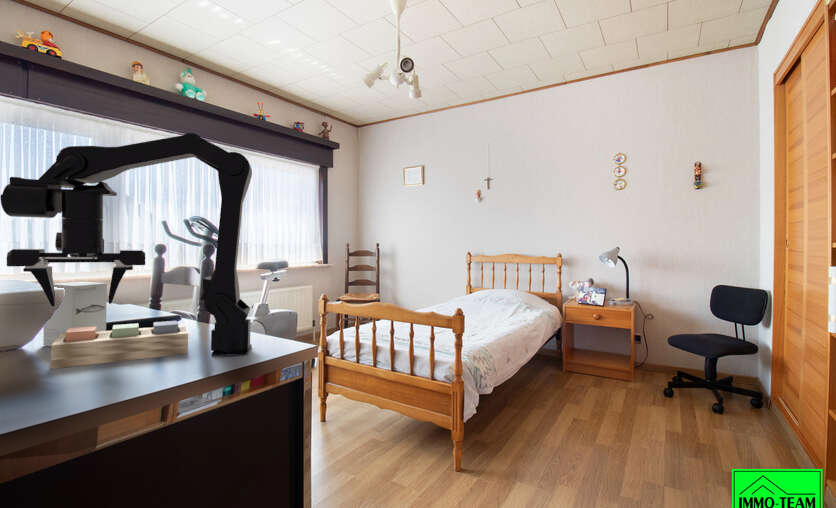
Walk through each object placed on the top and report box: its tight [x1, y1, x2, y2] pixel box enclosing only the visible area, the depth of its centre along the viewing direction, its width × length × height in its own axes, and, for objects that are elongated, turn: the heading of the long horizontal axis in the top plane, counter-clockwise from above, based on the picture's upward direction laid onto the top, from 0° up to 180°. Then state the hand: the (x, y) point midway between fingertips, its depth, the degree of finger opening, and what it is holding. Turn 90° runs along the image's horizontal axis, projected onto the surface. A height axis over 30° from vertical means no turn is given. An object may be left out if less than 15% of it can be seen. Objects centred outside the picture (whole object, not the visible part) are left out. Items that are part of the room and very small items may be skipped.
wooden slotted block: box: [50, 324, 189, 370], centre depth 77 cm, size 20×9×4 cm, turn 125°
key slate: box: [152, 320, 179, 334], centre depth 80 cm, size 4×4×2 cm
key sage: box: [111, 322, 140, 338], centre depth 76 cm, size 4×4×2 cm
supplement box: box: [42, 281, 108, 347], centre depth 83 cm, size 7×7×13 cm
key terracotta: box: [66, 326, 97, 341], centre depth 73 cm, size 4×4×2 cm
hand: (82, 305), depth 73 cm, fingers open, 8 cm apart
